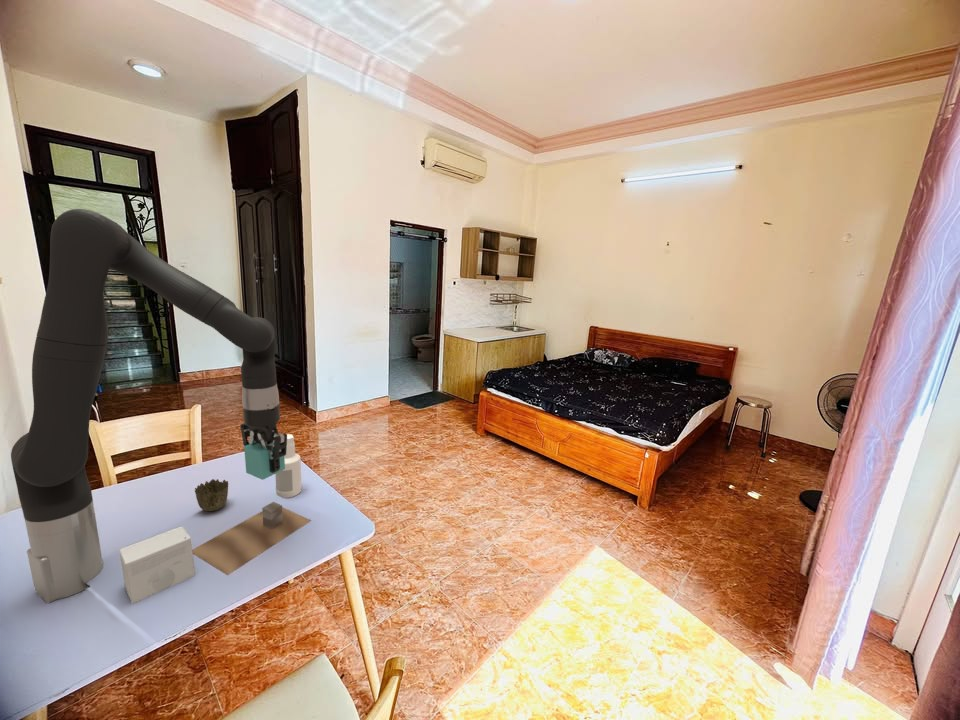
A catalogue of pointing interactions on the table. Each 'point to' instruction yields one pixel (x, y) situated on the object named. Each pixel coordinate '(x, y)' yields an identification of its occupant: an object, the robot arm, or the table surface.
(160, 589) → the skincare box
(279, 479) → the spray bottle
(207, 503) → the bronze textured bowl
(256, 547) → the board
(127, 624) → the table surface
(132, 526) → the table surface
